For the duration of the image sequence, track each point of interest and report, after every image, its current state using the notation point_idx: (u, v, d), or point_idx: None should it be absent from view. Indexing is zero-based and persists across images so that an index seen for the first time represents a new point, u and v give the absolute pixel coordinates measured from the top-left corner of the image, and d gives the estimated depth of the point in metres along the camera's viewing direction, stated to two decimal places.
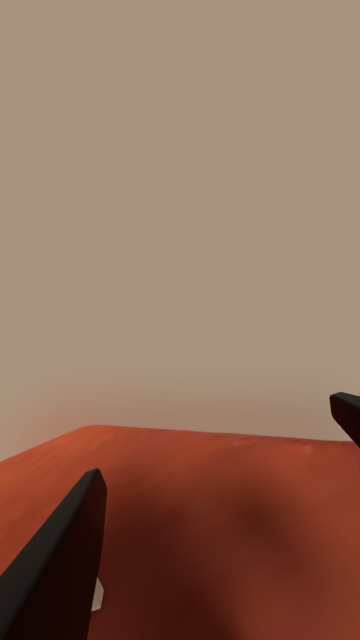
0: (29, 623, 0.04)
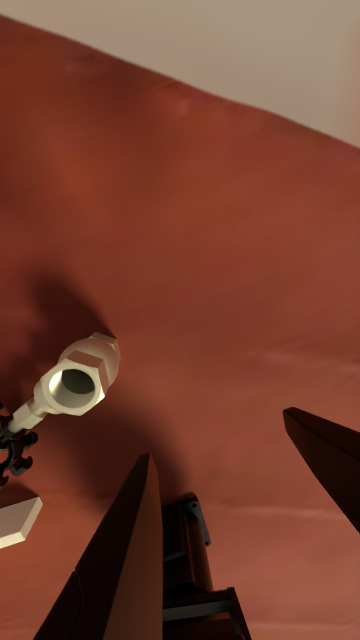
0: (127, 589, 0.04)
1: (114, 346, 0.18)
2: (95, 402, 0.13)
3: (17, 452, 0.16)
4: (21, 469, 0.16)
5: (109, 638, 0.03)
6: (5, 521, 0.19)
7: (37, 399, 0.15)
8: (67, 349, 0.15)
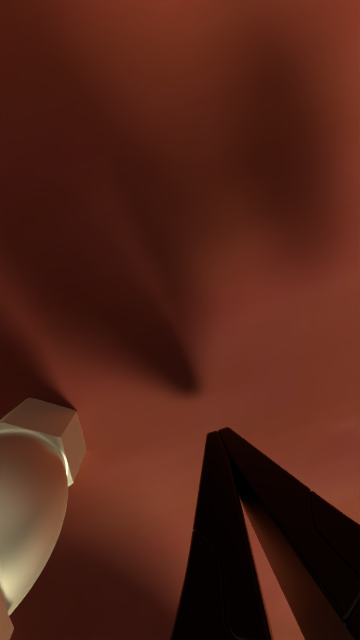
0: (250, 546, 0.04)
1: (64, 439, 0.08)
2: None
3: None
4: None
5: (258, 585, 0.04)
6: None
7: None
8: None
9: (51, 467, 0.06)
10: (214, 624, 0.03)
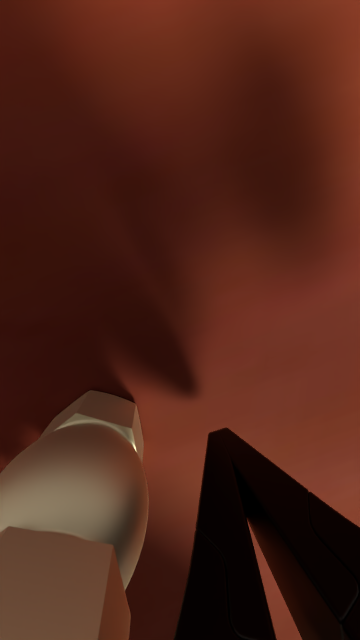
0: None
1: (133, 430, 0.08)
2: None
3: None
4: None
5: (262, 584, 0.04)
6: None
7: None
8: None
9: (135, 456, 0.06)
10: (218, 623, 0.03)
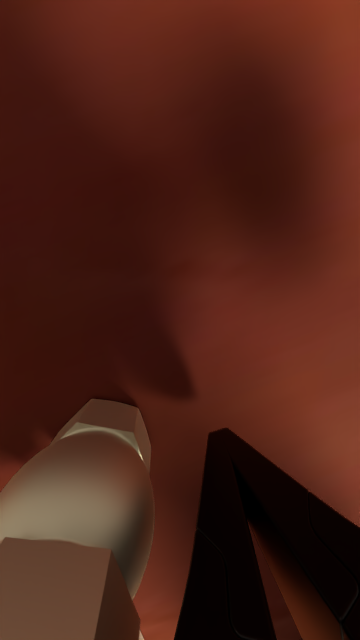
0: None
1: (136, 434, 0.08)
2: None
3: None
4: None
5: (262, 584, 0.04)
6: None
7: None
8: None
9: (136, 460, 0.06)
10: (218, 623, 0.03)
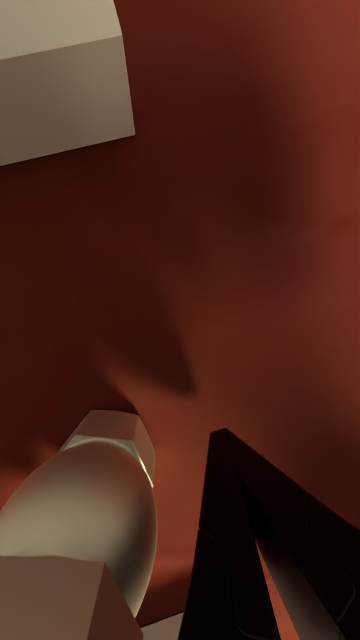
0: None
1: (136, 442, 0.08)
2: None
3: None
4: None
5: (265, 582, 0.04)
6: None
7: None
8: None
9: (134, 468, 0.06)
10: (222, 621, 0.03)
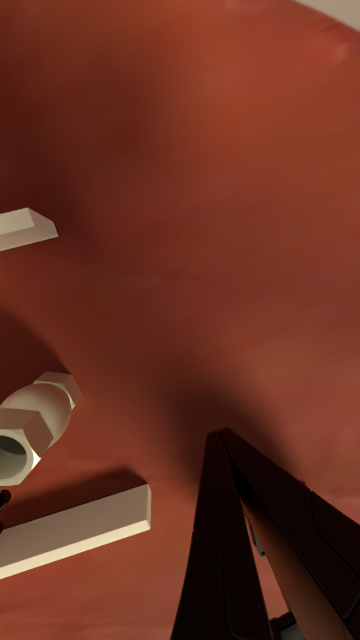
0: (250, 546, 0.04)
1: (66, 385, 0.16)
2: (30, 467, 0.11)
3: None
4: None
5: (258, 585, 0.04)
6: (122, 509, 0.18)
7: None
8: (0, 405, 0.13)
9: (59, 391, 0.14)
10: (214, 624, 0.03)
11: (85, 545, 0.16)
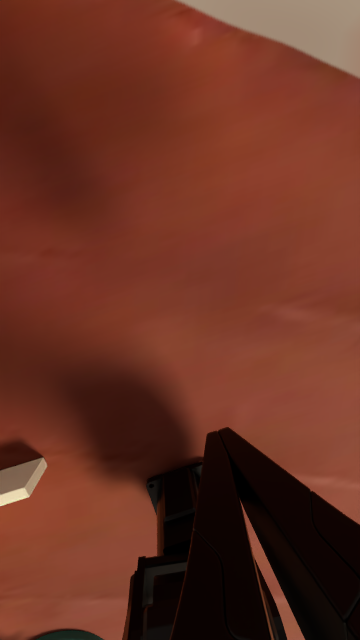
0: (250, 546, 0.04)
1: None
2: None
3: None
4: None
5: (258, 585, 0.04)
6: (9, 480, 0.19)
7: None
8: None
9: None
10: (214, 624, 0.03)
11: None
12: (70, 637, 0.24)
